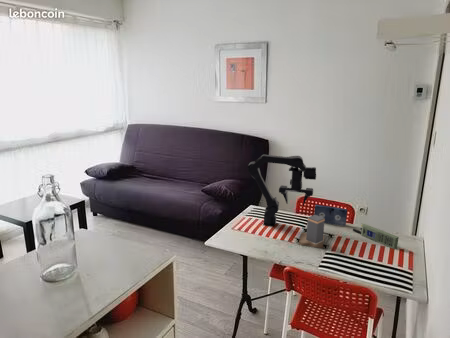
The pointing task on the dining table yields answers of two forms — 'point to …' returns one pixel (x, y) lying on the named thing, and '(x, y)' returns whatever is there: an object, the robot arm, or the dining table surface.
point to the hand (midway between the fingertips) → (295, 204)
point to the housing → (315, 229)
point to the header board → (308, 243)
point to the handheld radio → (378, 236)
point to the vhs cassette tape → (331, 214)
